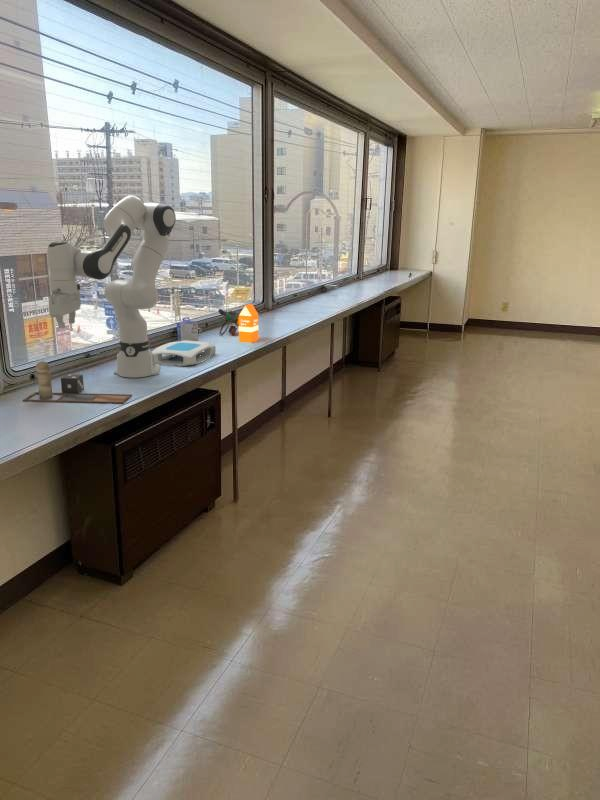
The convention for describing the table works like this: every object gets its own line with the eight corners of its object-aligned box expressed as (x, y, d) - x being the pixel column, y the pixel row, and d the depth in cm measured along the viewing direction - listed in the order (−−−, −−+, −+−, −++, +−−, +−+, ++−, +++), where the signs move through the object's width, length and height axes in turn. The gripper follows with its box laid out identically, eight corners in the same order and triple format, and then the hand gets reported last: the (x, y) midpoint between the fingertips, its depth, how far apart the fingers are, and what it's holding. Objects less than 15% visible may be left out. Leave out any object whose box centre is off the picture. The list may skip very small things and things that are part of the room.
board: (35, 393, 222) (35, 392, 221) (131, 395, 221) (131, 394, 221) (22, 401, 212) (22, 400, 212) (123, 403, 212) (123, 402, 211)
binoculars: (232, 342, 334) (245, 319, 332) (210, 330, 329) (223, 307, 327) (228, 338, 347) (241, 315, 345) (208, 326, 342) (221, 303, 340)
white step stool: (148, 364, 270) (148, 350, 268) (177, 351, 296) (176, 339, 294) (191, 368, 265) (190, 354, 263) (216, 354, 291) (216, 342, 289)
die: (68, 389, 228) (67, 373, 226) (84, 389, 228) (82, 374, 226) (62, 393, 222) (60, 378, 221) (78, 394, 222) (76, 378, 220)
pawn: (42, 395, 219) (38, 359, 215) (55, 396, 219) (51, 360, 215) (36, 399, 215) (32, 362, 211) (49, 399, 214) (46, 363, 210)
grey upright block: (194, 343, 314) (193, 316, 310) (199, 345, 310) (198, 317, 305) (177, 345, 308) (176, 317, 304) (181, 347, 304) (180, 319, 300)
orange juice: (238, 342, 320) (238, 304, 314) (245, 339, 328) (245, 302, 322) (251, 343, 318) (251, 305, 312) (258, 340, 326) (258, 303, 320)
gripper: (60, 291, 204) (64, 331, 208) (82, 284, 223) (85, 321, 227) (42, 290, 204) (46, 330, 208) (65, 284, 224) (69, 320, 228)
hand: (67, 325), depth 218 cm, fingers open, 8 cm apart
